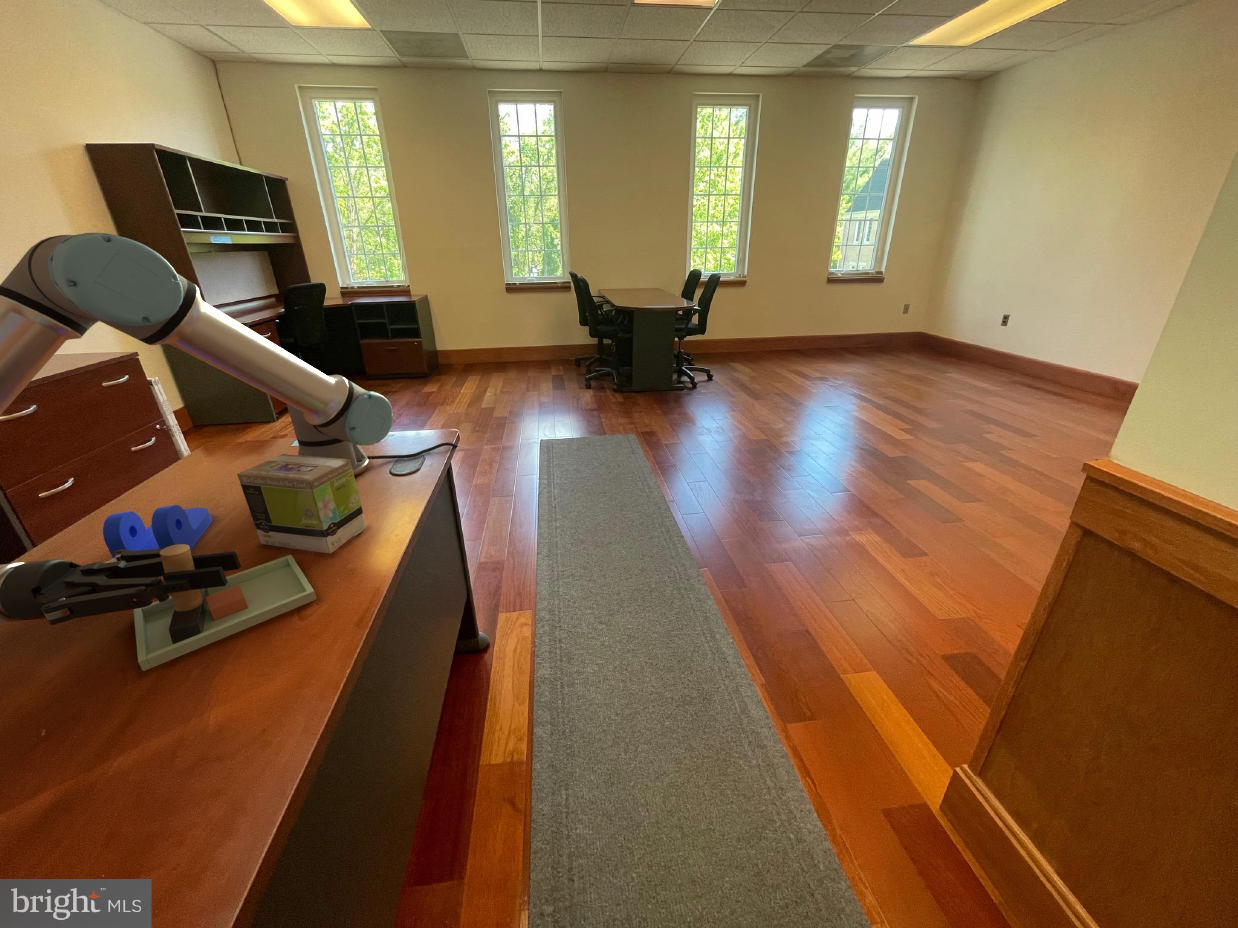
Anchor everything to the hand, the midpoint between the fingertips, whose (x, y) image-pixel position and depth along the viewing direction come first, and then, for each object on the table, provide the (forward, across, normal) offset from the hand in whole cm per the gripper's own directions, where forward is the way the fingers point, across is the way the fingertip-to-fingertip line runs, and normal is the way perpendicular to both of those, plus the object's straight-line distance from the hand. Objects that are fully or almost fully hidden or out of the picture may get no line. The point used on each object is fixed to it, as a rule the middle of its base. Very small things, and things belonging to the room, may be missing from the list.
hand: (230, 568), depth 67 cm
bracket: (-23, -26, -9) cm, 35 cm away
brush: (-7, 0, -8) cm, 10 cm away
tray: (-3, -2, -8) cm, 9 cm away
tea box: (+2, -21, -9) cm, 23 cm away
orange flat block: (-3, -2, -8) cm, 8 cm away
